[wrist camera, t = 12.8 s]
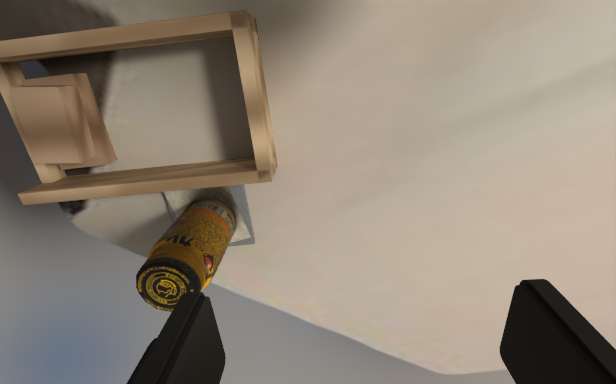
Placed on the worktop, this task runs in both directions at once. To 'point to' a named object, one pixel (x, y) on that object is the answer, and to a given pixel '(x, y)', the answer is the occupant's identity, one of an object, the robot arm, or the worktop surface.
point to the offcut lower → (92, 115)
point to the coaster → (242, 205)
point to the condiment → (190, 245)
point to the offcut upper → (54, 123)
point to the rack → (58, 187)
